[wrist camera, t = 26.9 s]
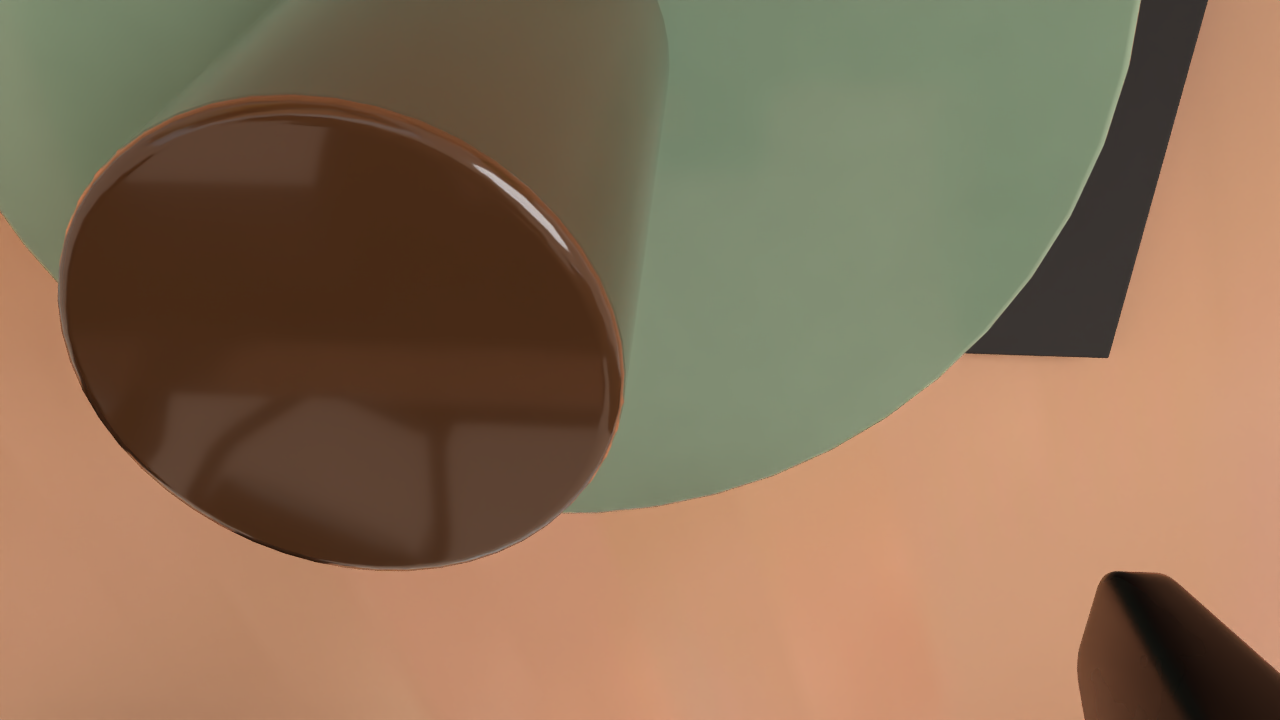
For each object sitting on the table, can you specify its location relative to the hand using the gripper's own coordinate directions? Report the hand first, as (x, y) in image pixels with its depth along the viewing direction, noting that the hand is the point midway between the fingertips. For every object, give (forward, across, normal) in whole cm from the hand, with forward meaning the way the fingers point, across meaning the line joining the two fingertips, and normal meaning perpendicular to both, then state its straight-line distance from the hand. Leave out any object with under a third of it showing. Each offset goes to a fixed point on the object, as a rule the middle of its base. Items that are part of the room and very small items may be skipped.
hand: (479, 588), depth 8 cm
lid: (+2, 0, -4) cm, 4 cm away
